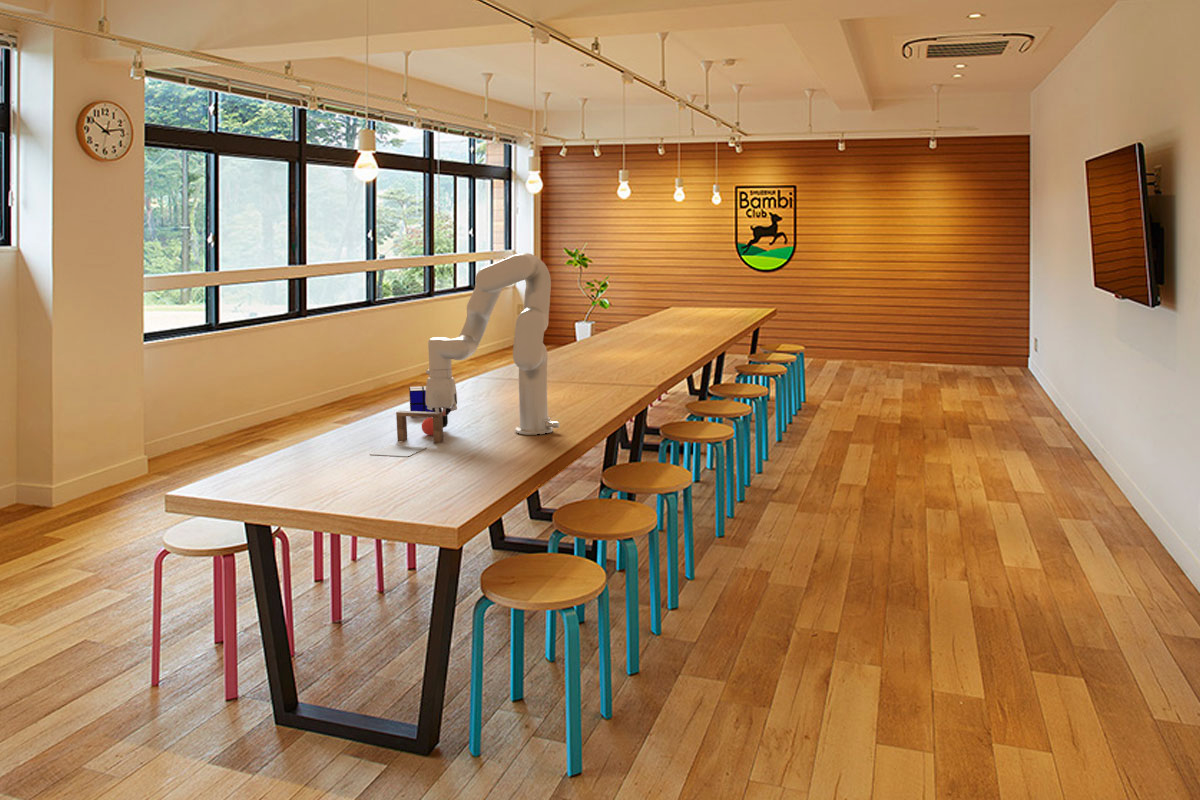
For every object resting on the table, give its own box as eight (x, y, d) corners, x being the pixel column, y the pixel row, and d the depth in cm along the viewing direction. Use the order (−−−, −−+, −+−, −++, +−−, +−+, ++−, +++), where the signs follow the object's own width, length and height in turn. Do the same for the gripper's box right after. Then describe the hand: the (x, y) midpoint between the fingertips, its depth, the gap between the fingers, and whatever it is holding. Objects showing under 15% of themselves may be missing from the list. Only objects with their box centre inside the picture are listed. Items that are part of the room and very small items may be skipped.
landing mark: (426, 448, 320) (426, 447, 320) (407, 457, 307) (407, 456, 307) (390, 446, 323) (390, 445, 323) (369, 454, 311) (369, 454, 311)
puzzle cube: (410, 417, 372) (409, 390, 370) (410, 412, 382) (409, 386, 380) (438, 416, 374) (437, 389, 372) (437, 411, 384) (435, 385, 382)
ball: (432, 419, 334) (432, 437, 335) (443, 417, 340) (443, 435, 340) (417, 417, 337) (418, 435, 338) (429, 416, 342) (429, 433, 343)
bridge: (401, 439, 333) (400, 410, 331) (443, 441, 329) (442, 412, 327) (397, 441, 330) (396, 412, 329) (439, 443, 326) (438, 414, 324)
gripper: (415, 374, 341) (418, 428, 344) (456, 376, 337) (458, 430, 340) (425, 371, 348) (428, 423, 351) (465, 372, 344) (467, 425, 347)
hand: (442, 426), depth 345 cm, fingers closed
